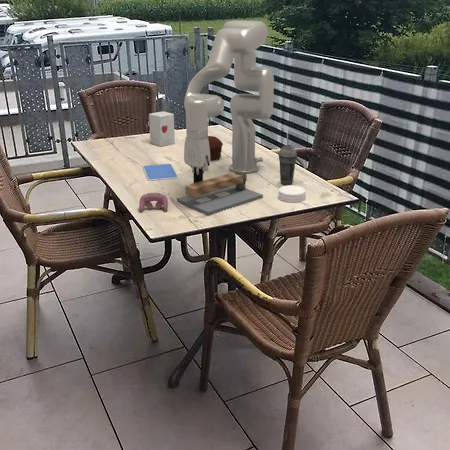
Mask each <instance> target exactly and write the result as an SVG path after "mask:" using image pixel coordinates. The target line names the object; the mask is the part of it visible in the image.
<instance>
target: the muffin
mask: <svg viewBox="0 0 450 450" xmlns="http://www.w3.org/2000/svg"><path fill="white" fill-rule="evenodd" d="M208 141H209V147H210V162H216V161H220V160H221V156H222V148H223V145H224V143H223V142H222V140H220V138H218V137H217V136H215V135H208Z"/></svg>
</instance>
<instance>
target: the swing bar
mask: <svg viewBox="0 0 450 450" xmlns="http://www.w3.org/2000/svg"><path fill="white" fill-rule="evenodd" d="M247 175H248V173H246V172H243V171H238V172H229V173H226V174H223V175H219V176H215V177H212V178H207V179H203V181H200V182H197V183H194V182H193V183H189V184H186V185H185V186H184V187H185V189H184V190H185V195H190V196H192V197H197V196H201V195H204V194H207V193H211V192H214V191H218V190H221V189H224V188H228V187H231V186H235V185H238V184H241V183H243V182H245V183H246V182H247Z"/></svg>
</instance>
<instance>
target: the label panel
mask: <svg viewBox="0 0 450 450" xmlns="http://www.w3.org/2000/svg"><path fill="white" fill-rule="evenodd" d="M263 198H264V194H262V193H260V192H256V191H255V190H251V189H248V188H247V187H246V182H243V183H241V184H238V185H235V186H231V187H228V188H224V189H221V190H218V191H214V192H211V193H207V194H204V195H201V196H197V197H192V196H190V195H188V194H185V195H183V196H179V197H177V198H176V202H177V203H180V204H181V205H183V206H186V207H188V208H191V209H193V210H195V211H197V212H198V213H199V212H200V213H201V214H204V215H206V216H211V215H215V214H217V213H220V211H221V212H223V210H224V211H227V210H229V208H230V209H233V208H236V207H239V206H242V205H245V204H247V203H251V202H254V201H257V200H260V199H263ZM235 206H236V207H235ZM232 207H233V208H232ZM226 209H227V210H226Z"/></svg>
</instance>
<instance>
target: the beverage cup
mask: <svg viewBox="0 0 450 450" xmlns="http://www.w3.org/2000/svg"><path fill="white" fill-rule="evenodd" d="M297 158H298V151H297V150H296V147H294V146H293V145H291V144H289V133H288V132H287V133H286V145H283V146H282V147H281V148H280V149H279V151H278V160H279V161H278V162H279V177H280V185H281V184H282V186H284V185H286V186H288V185H293V181H294V175H295V167H296V162H297Z"/></svg>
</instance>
